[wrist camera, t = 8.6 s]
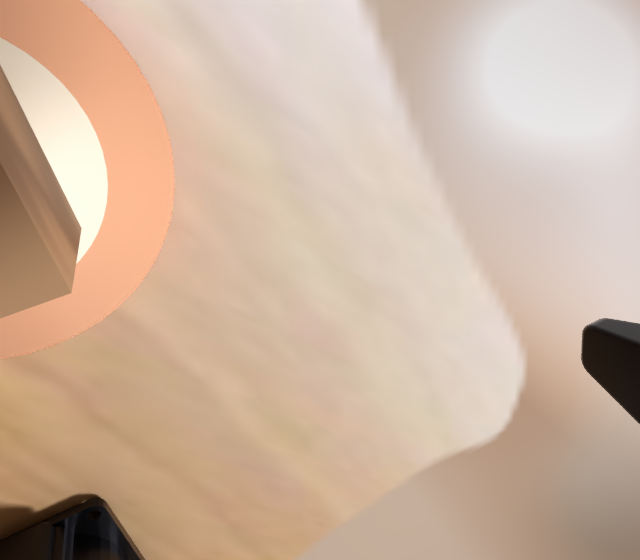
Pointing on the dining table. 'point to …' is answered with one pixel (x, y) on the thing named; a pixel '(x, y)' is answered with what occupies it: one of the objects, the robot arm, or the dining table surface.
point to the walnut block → (31, 216)
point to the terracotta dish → (88, 159)
